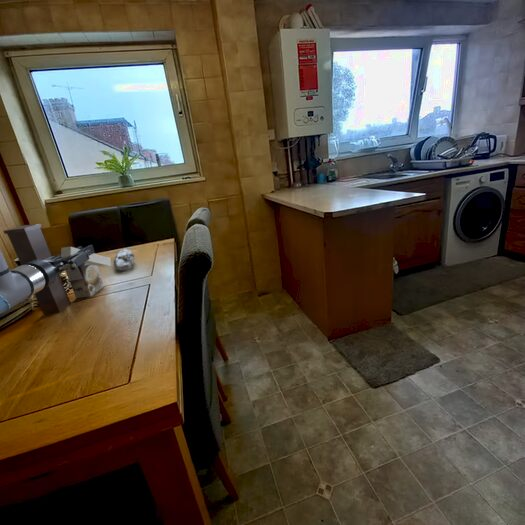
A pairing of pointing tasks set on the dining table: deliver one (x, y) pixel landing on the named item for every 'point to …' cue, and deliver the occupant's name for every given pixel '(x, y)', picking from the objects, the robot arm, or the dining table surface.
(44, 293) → the walnut post
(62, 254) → the switch bar
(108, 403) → the dining table surface
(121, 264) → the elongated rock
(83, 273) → the coffee box
